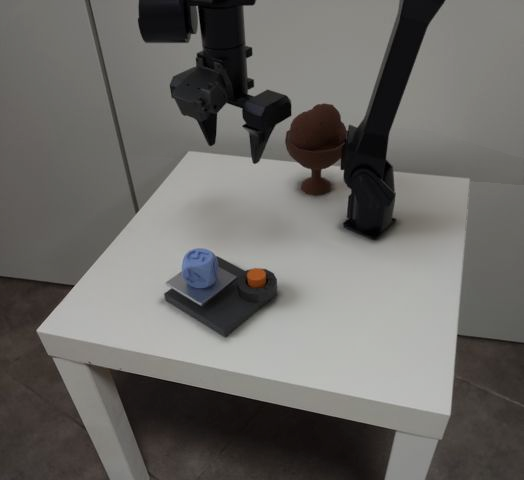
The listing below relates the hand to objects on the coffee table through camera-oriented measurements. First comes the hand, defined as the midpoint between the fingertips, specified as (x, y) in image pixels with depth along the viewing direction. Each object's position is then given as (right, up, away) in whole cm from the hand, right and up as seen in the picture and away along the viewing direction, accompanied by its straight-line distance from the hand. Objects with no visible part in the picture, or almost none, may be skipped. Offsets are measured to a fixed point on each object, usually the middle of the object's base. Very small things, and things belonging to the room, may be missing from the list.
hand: (233, 153), depth 83 cm
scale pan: (-4, -20, -6) cm, 22 cm away
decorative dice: (-4, -20, -6) cm, 22 cm away
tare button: (+4, -20, -6) cm, 22 cm away
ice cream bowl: (+14, -1, +15) cm, 21 cm away
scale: (-2, -22, -4) cm, 23 cm away
